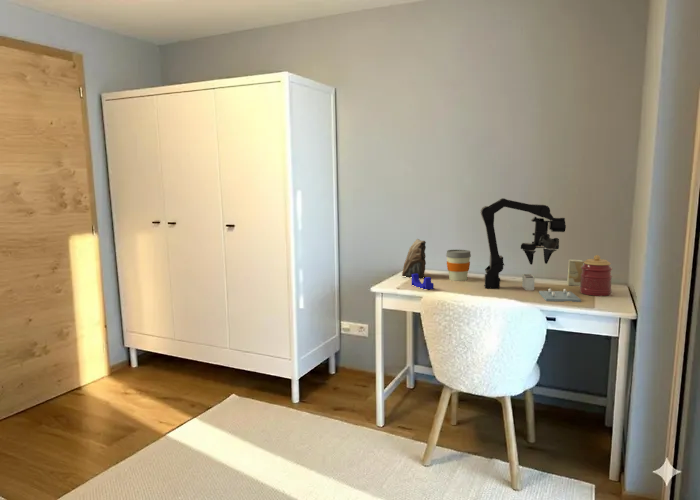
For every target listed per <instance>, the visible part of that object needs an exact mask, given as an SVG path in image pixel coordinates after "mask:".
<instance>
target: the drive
mask: <svg viewBox="0 0 700 500" xmlns="http://www.w3.org/2000/svg"><path fill="white" fill-rule="evenodd" d="M521 277H522V279H521V287H522V288H523V289H524V290H525V291H535V283H536V282H535V280H536V279H535V277H534V275H532V274H529V273H527V274H525V273H524V274H522V276H521Z"/></svg>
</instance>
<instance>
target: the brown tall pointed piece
mask: <svg viewBox="0 0 700 500" xmlns="http://www.w3.org/2000/svg"><path fill="white" fill-rule="evenodd" d="M426 243H427V242H426V240H420V239H419V238H417V239H415V241H413V243H412V245H411V246H410V247H409V250H408V252H407V255H406V258H405V261H404V263H403V268H402V272H401V277H402V276H406V277H412V274H418V276H419V278H423V277H425V272H426V265H427V262H426ZM406 277H405V278H406ZM423 279H424V278H423Z"/></svg>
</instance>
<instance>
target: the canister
mask: <svg viewBox="0 0 700 500" xmlns="http://www.w3.org/2000/svg"><path fill="white" fill-rule="evenodd" d="M611 264H612V263H611V262H610V261H608V260H607V259H603V258H601V256H600V255H599V254H596V255H594V256H593V258H588V259H586V260H583V266H581V268H582V273H581V274H580V275H581V282H580V286H579V292H580V293H581V294H583V295H587V296H592V297H593V296H594V297H608V296H610V295H611V293H612V278H613V275H612V271H613V267H612V266H611Z"/></svg>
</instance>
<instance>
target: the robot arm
mask: <svg viewBox="0 0 700 500" xmlns="http://www.w3.org/2000/svg"><path fill="white" fill-rule="evenodd" d="M503 208H508V209H513V210H517V211H524V212H527V213H531V214H532V215H534V217H533V218H532V219H530V221H531V222H535V223H534V232H532V236H534V237H533V241H531V242H522V243H521V244H520V249H521V250H522V251H523V252H524V253H525V255H526V257H527V260H528V263H529V265H533V262H534V256H535V255H534V254H535V253H536V252H537V251H536V249H543V260H544V264H545V265H547V264H548V262H549V261H550V258H551V256H552V254H553V253H554V252H556V251H557V250H559V248H560V239H559V238H558V237H554V238H551V237H550V233H548V232H549V231H548V230H550V232H551V233H565V232H566V228H567V225H566V218H565V217H554V216H553V214H552V213H551V209H550V207H549V206H548V205H546V204H539V203H536V204H533V203H532V204H530V203H524V202H520V201H516V200H511V199H507V198H499V200H496V201H495V202H493V203H491V204H490V205H484V206H483V207H481V209H480V215H481V219H482V220H483V224H484V226H485V231H486V237H487V243H488V250H489V265H488V266H487V267H485V268H484V271H485V274H484V284H483V286H484V289H500V287H501V278H500V275H499V274H500V273H501V272H502V271H503V270H504V266H505V264H504V257H503V256H502V255H500V253H499V250H498V244H497V238H496V232H495V231H496V230H495V225H494V224H495V223H494V222H495V214H496V213H497V212H499V211H500V210H502V209H503ZM537 216H538V217H537Z"/></svg>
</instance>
